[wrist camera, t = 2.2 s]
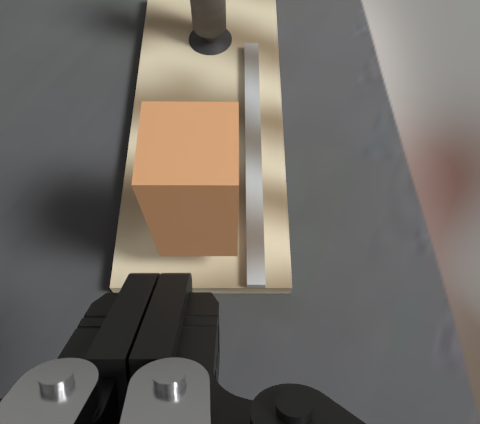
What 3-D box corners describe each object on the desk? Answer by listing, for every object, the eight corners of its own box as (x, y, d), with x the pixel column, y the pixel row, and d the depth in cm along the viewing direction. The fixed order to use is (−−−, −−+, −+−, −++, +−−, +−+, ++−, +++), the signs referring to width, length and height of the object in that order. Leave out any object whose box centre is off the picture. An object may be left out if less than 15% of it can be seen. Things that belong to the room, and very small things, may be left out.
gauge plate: (290, 293, 26) (319, 214, 17) (113, 293, 26) (49, 213, 17) (274, 5, 37) (286, -136, 28) (150, 4, 36) (123, -137, 28)
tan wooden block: (237, 268, 25) (238, 185, 17) (164, 268, 25) (131, 185, 17) (237, 204, 27) (238, 101, 19) (169, 204, 27) (141, 101, 19)
